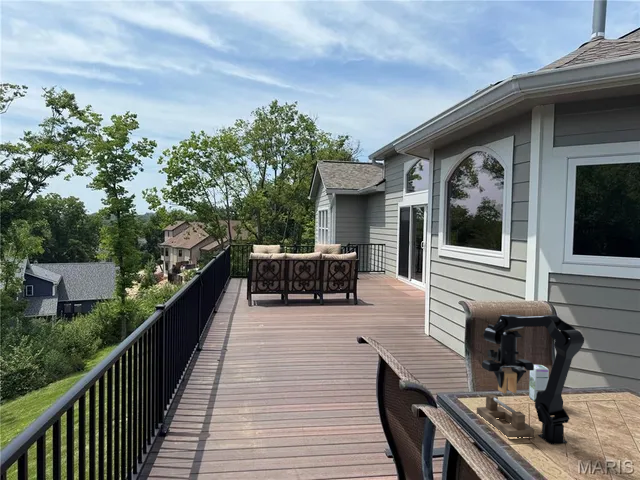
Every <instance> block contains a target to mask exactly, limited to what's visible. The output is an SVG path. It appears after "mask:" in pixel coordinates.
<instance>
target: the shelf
mask: <svg viewBox="0 0 640 480" xmlns="http://www.w3.org/2000/svg"><path fill="white" fill-rule="evenodd" d="M477 414H479V415H480V416H481V417H483V418H484V419H485V420H486V421H488V422H489V423H490V424H492V425H493V426H494V427H496V428H497V429H498V430H500V431H501V432H502V433H503V434H504V435H506V436H507V437H517V438H519V437H521V438H523V437H534V438H535V433H536V432H535V430H536V429H535V428H534V427H532V426H530V425H528V424H527V423H526V414H524V413H523V412H521V411H520V410H519V411H516V410H514V409H513V408H511V407H510V406H508V405H507V404H506V403H504V402H503V401H501V400H499V398H498V396H497V395H495V394H486V395H485V406H479V407H477V406H476V415H477ZM496 418H499V419H505V420H504V421H506V420H507V421H508V422H509V423H508V422H507V421H506V422H507V423H503V422H501V420H497V419H496ZM510 423H511V424H510Z"/></svg>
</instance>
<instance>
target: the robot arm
mask: <svg viewBox="0 0 640 480" xmlns="http://www.w3.org/2000/svg"><path fill="white" fill-rule="evenodd" d="M524 327H527V328H528V327H530V328H532V327H534V328H536V327H538V328H539V327H545V328H546V329H547V332H548V334H549V336H550V337H551V338H552V339H553V340H554V342H553V343H554V344H553V345H554V346H553V347H554V349H555V357H554V360H553V363H552V366H551V370H550V373H549V379H548V383H547V386H546V389H545V390H544V391H538V392H537V395H536V399H535V400H534V401H533V402H534V409H535V410H536V414H537V415H536V416H537V418H538V422H541V433H538V437H539V438H540V439H542V440H543V441H545V442H546V443H548V444H549V445H562V444H567V443H568V441H567V440H565V439H564V434H565V433H564V431H565V430H564V429H565V425H564V424H567V423H569V421H570V416H569V415H568V413H567V412H566V410H565V409H564V400H563V395H562V392H563V390H564V387H565V383H566V380H567V377H568V374H569V371H570V368H571V365H572V362H573V359H574V357H575V356H576V355H577V354H578V353H579V352H580V351H581V349H582V347H583V345H584V344H585V337H584V335H583V334H582V333H581V332H580V330H577V329H576V328H575V327H574V326H572V325H571V324H570V323H567V322H565V321H564V320H562V319H561V318H560V317H559V316H558V315H556V314H549V315H548V314H547V315H541V316H539V315H536V316H534V315H533V316H523V315H519V314H514V313H513V314H501V315H500V316H499V317H498V320H497V321H496V323H495V324H487V327H486V328H485V330H484V332H483V338H484V340H485V341H487V342H490V343H493V344H497V345H500V346H499V347H498V348H497V351H495V350H494V349H487V353H486V354H487V358H488V359H484V360H483V361H482V363H481V368H483V369H485V370H486V371H488V372H493V373H494V375H495V378H496V381H497V385H498V384H499V387H500V388H502V386H503V380H504V372H503V371H504V370H503V369H505V368H506V369H508V368H509V369H510V368H511V369H510V370H511V371H513V372H515V373H517V384H518V383H519V382H520V380H521V379H522V377H523V376H524V374H526V373H527V371H530V370H534V365H535V364H534V363H533V362H532V361H530V360H527V359H525V358H524V359H523V358H522V359H517V355H519V350H517V344H518V343H517V342H518V341H517V340H518V339H521V338H522V337H523V336H522V334H521V333H520V332H519V330H518V329H523V328H524ZM512 330H513V331H512Z"/></svg>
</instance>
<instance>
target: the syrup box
mask: <svg viewBox="0 0 640 480" xmlns="http://www.w3.org/2000/svg"><path fill="white" fill-rule="evenodd" d="M533 365H534V370H529V383H528V384H529V386H528V387H529V388H528V389H529V391H528V398H529V399H531V400H532V401H533V402H534V400H535V399H536V395H537V392H538V391H544V390H545V389H546V386H547V383H548V379H549V376H550V373H549V372H550V369H549V368H548V367H546V366H544V365H542V364H533Z"/></svg>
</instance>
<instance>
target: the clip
mask: <svg viewBox="0 0 640 480" xmlns="http://www.w3.org/2000/svg"><path fill="white" fill-rule="evenodd" d="M502 371H503V372H504V380H503V386H502V388H500V387H499V384H498V383H497V390H498V392H501V393H503V394H505V395H506V394H508V393H507V390H508V391H510V392H512V393H513V394H517V393H518V391H517V389H518V388H517V387H518V386H517V385H518V383H517V373H515V372H513V371H512V369H510V370H509V369H507V370H505V369H504V370H502Z"/></svg>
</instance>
